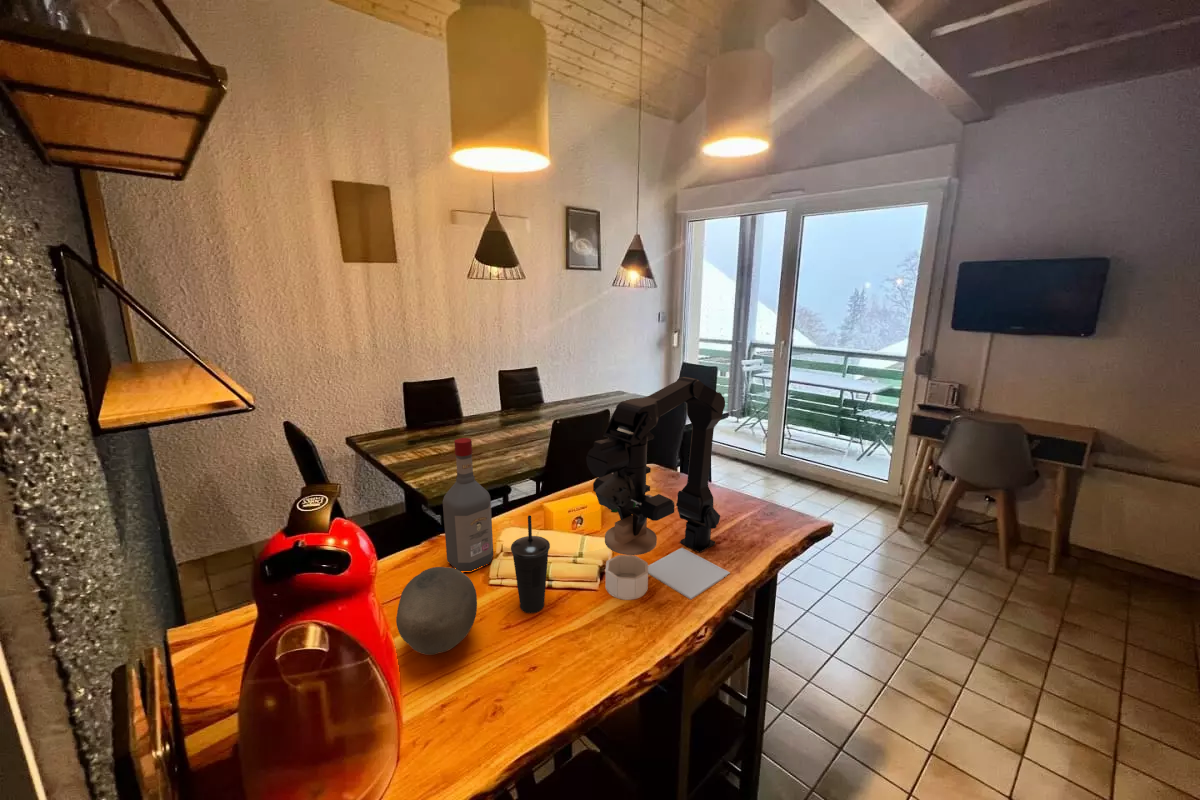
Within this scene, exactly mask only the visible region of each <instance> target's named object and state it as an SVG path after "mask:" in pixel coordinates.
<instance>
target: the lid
mask: <svg viewBox="0 0 1200 800" xmlns="http://www.w3.org/2000/svg"><path fill="white" fill-rule="evenodd" d="M647 523H648V518H647V519H646V521H645V523H644V525H643V527H642V529H641V530H640V532H639V534H638V535H636V536H634V534H633V515H631V516H629V517H627V518H624V519H622V520H621V519H619V520H618V521H616V522H614V526H612V527H611V528H609V529H608V530H607V531H606V532H605V534H604V543H605V546H606V547H607V548H608V549H609V550H610V551H612V552H615V553H617V554H619V555H632V556H639V555H645V554H647V553H650V552H651V551H653V549H655V548H656V547H657V540H658V538H657V537H658V536H657V535H656V533H655V531H654V530H652V528H649V527H647V525H648V524H647Z"/></svg>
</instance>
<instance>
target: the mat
mask: <svg viewBox="0 0 1200 800" xmlns="http://www.w3.org/2000/svg"><path fill="white" fill-rule="evenodd" d="M728 574H729V575H731V572H730V571H728V570H726V569H724V568H723V567H720V566H718V565H716V564H715V563H712V561H711V562H710V561H708V560H707V559H705V558H704V557H701V556H700V555H697V554H695V553H693V552H691V551H690V550H688V549H686V548H684V547H681V548H678V549H677V550H674V551H673V552H670V553H669V554H668V555H666V556H663V557H662V558H659V559H657V560H656V561H654V562H653V563H650V564H648V576H651V577H652V578H654V579H656V580H658V582H661V583H662V584H664V585H665V586H667V587H669V588H671V589H672V590H674V591H675V592H678V593H679V594H681V595H682V596H684V597H686V598H687V599H689V600H692V599H693V600H694V599H695V598H696V597H697V596H699V595H700V594H702V593H703V592H705V591H706V590H708V589H710V588H711V587H713V586H714V585H715V584H717V583H719V582H720V581H722V580H723V579H725V578H726V577H727V575H728ZM729 575H728V576H729ZM724 577H725V578H724Z"/></svg>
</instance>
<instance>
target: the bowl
mask: <svg viewBox="0 0 1200 800" xmlns="http://www.w3.org/2000/svg"><path fill="white" fill-rule="evenodd" d="M648 565H649V564H648V562H647V561H646V560H644V559H642V558H640V557H639V556H638V555H624V554H618V555H616V556H614V557H612V558H610V559H608V560H606V563H605V573H604V574H605V581H604V583H605V586H604V587H605V590H606V591H607V593H608V594H609V595H610V596H612V597H613V598H615V599H619V600H622V601H623V600H624V601H633V600H637V599H640V598H642V597H643V596H644V595H646V593H647V591H648V587H649V574H648Z"/></svg>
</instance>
